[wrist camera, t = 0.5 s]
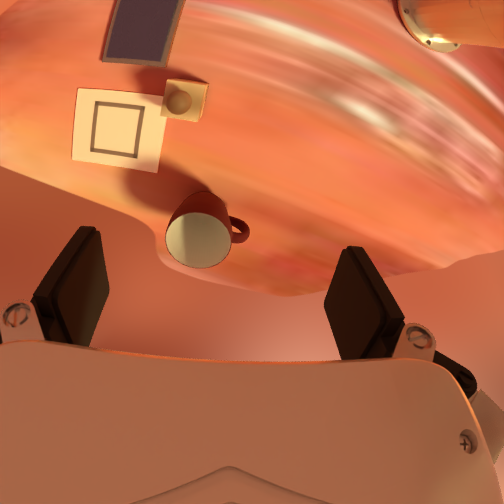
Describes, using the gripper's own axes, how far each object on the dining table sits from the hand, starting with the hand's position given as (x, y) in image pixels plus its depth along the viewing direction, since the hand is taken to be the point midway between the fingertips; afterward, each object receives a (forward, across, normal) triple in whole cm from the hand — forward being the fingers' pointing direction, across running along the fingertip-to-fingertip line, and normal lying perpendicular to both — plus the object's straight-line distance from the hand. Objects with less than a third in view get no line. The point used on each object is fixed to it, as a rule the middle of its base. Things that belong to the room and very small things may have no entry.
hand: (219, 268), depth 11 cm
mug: (+32, +1, +12) cm, 34 cm away
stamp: (+31, +5, -4) cm, 32 cm away
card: (+32, +15, +1) cm, 35 cm away
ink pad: (+31, +12, -14) cm, 36 cm away
